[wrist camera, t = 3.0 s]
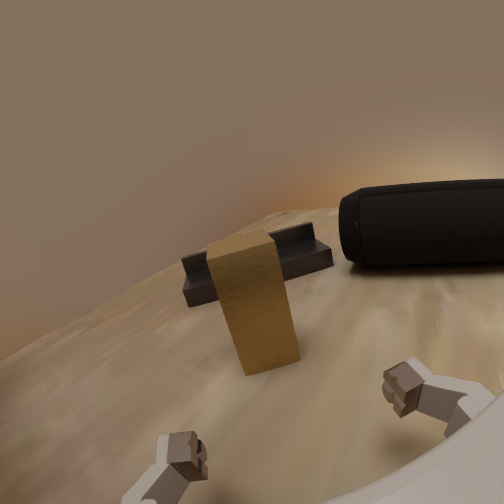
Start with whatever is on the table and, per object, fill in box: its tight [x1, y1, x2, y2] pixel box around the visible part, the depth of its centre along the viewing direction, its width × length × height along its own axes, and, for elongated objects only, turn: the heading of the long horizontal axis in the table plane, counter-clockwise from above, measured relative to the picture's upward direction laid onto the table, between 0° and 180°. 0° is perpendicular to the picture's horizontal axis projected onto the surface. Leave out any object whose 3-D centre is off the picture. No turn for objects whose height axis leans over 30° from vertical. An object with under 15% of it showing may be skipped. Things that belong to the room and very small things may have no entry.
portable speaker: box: [339, 179, 504, 267], centre depth 26 cm, size 26×10×10 cm, turn 57°
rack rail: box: [181, 222, 334, 307], centre depth 38 cm, size 7×20×5 cm, turn 98°
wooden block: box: [206, 229, 300, 376], centre depth 21 cm, size 4×4×10 cm
